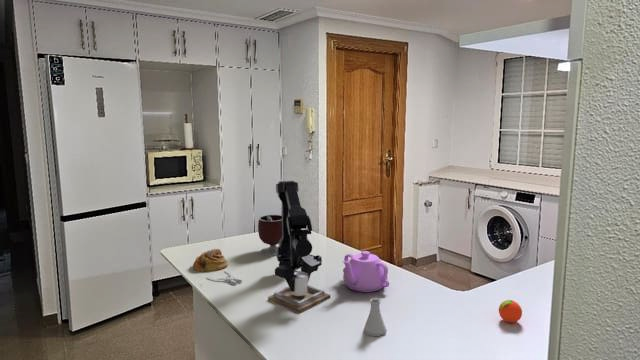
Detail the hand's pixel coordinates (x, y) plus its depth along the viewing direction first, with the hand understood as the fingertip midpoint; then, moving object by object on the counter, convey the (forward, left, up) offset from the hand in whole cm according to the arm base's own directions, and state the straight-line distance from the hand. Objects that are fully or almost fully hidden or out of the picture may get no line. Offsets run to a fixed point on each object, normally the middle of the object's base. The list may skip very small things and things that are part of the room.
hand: (299, 288), depth 157 cm
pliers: (+6, -36, -5) cm, 36 cm away
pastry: (+2, -54, -4) cm, 54 cm away
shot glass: (0, 0, -2) cm, 2 cm away
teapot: (-23, +11, -4) cm, 26 cm away
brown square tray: (0, 0, -4) cm, 4 cm away
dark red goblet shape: (-29, -47, -4) cm, 55 cm away
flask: (+1, +34, -4) cm, 34 cm away
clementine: (-32, +63, -4) cm, 71 cm away
